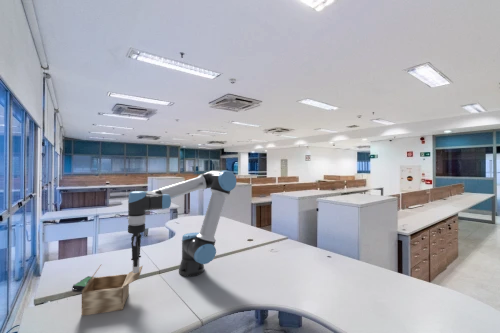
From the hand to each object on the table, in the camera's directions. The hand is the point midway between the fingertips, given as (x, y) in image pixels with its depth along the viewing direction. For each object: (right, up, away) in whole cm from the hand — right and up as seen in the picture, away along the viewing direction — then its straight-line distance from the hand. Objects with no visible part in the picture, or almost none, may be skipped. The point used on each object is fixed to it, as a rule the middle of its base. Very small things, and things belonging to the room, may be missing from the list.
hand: (135, 272), depth 115 cm
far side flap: (-19, -3, -6) cm, 20 cm away
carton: (-12, -13, -3) cm, 18 cm away
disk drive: (-29, -13, +12) cm, 34 cm away
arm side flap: (-4, -3, -1) cm, 5 cm away
